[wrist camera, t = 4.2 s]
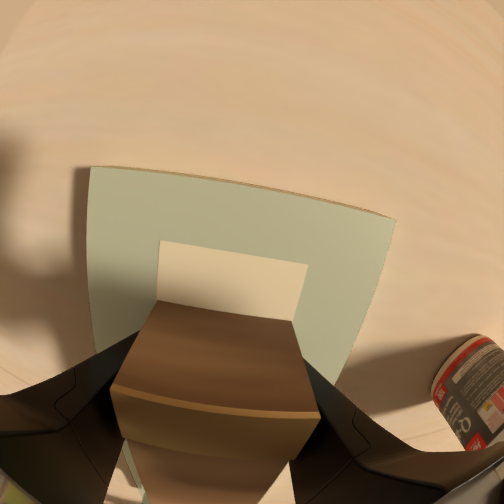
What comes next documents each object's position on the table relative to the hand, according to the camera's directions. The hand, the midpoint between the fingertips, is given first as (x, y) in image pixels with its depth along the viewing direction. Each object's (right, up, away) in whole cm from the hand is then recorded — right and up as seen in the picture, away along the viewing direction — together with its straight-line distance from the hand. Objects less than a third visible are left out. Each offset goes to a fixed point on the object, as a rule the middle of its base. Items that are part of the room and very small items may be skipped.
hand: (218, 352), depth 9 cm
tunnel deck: (-2, -7, +4) cm, 9 cm away
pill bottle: (+15, -4, +4) cm, 16 cm away
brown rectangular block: (-1, -4, +2) cm, 5 cm away
